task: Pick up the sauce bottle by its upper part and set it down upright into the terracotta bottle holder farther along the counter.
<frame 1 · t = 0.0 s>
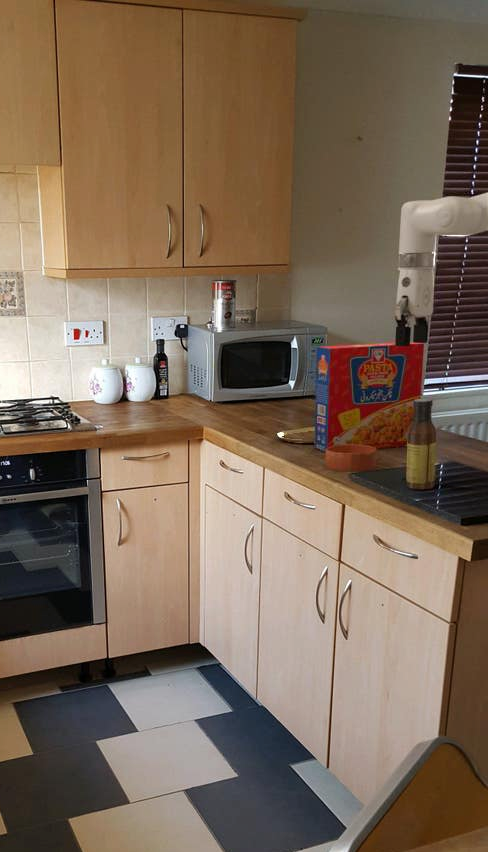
hand: (411, 344, 194), 31 cm above the countertop, tool pointing down, fingers open, 9 cm apart
serving platter: (329, 437, 265), on the countertop
pasta box: (365, 447, 247), on the countertop
sauce bottle: (419, 488, 198), on the countertop
bottle holder: (350, 466, 223), on the countertop
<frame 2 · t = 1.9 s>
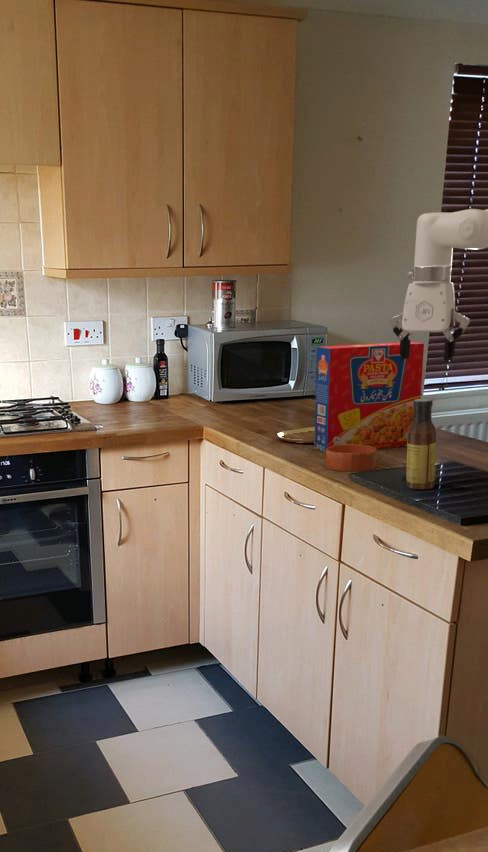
hand: (426, 359, 190), 28 cm above the countertop, tool pointing down, fingers open, 9 cm apart
nothing on the countertop moved.
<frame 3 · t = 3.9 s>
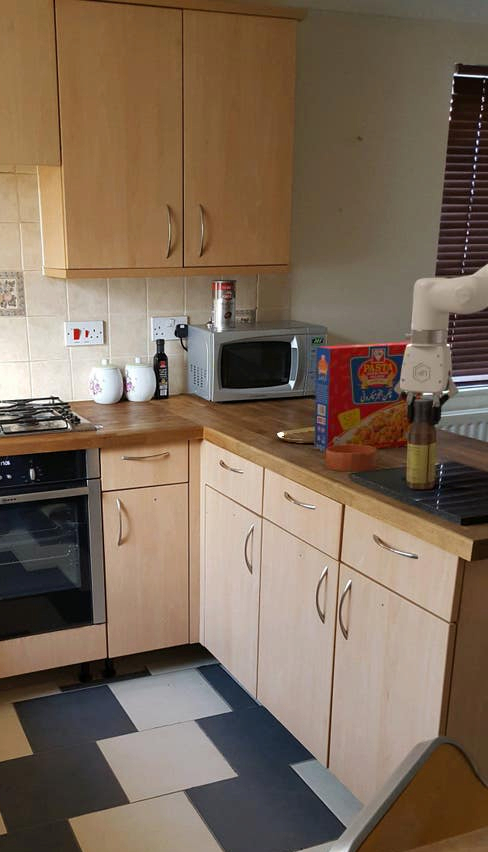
hand: (423, 422, 194), 15 cm above the countertop, tool pointing down, fingers closed on sauce bottle, 4 cm apart
sauce bottle: (419, 488, 198), on the countertop, touching gripper
everything else where it was.
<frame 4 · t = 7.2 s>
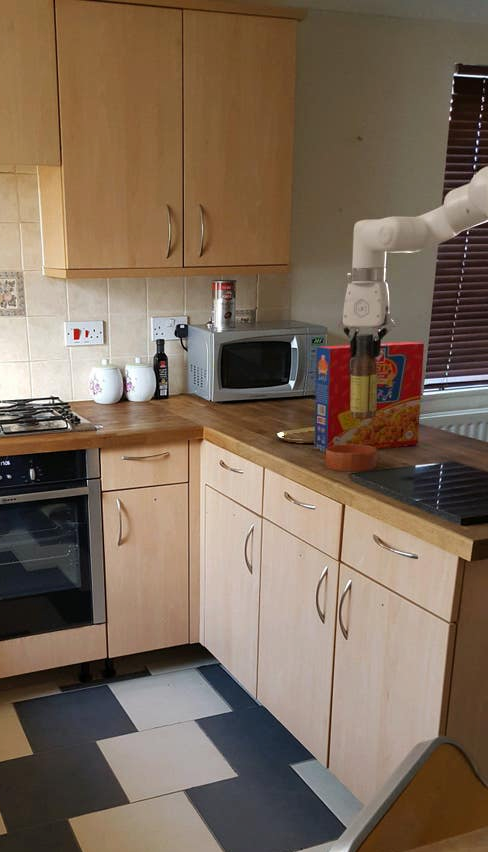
hand: (364, 356, 210), 28 cm above the countertop, tool pointing down, fingers closed on sauce bottle, 4 cm apart
sauce bottle: (362, 418, 215), point 13 cm above the countertop, touching gripper
everything else where it was.
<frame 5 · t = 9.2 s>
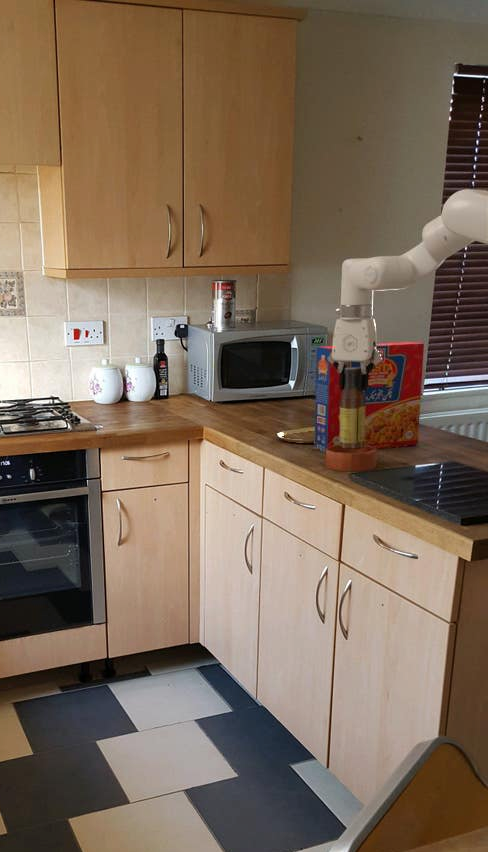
hand: (353, 388, 217), 19 cm above the countertop, tool pointing down, fingers closed on sauce bottle, 4 cm apart
sauce bottle: (351, 448, 221), point 5 cm above the countertop, touching gripper
everything else where it was.
when the fingers open (15 cm above the countertop, at t = 10.6 s): sauce bottle stays where it is, resting on bottle holder.
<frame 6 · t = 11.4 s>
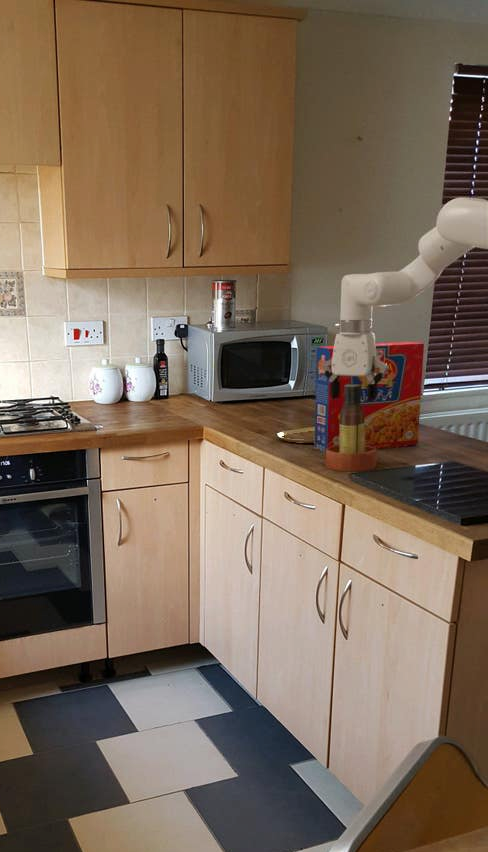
hand: (353, 399, 217), 17 cm above the countertop, tool pointing down, fingers open, 9 cm apart
sauce bottle: (351, 464, 222), resting on bottle holder
everything else where it was.
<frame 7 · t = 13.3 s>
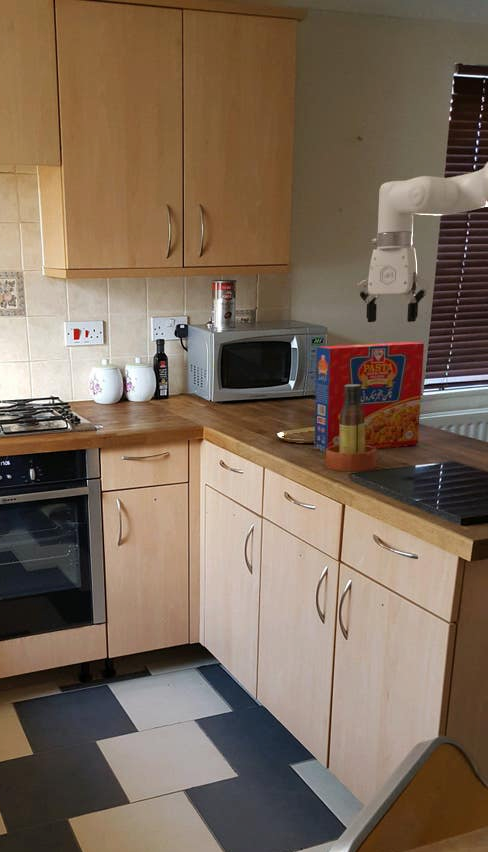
hand: (391, 321, 200), 36 cm above the countertop, tool pointing down, fingers open, 9 cm apart
nothing on the countertop moved.
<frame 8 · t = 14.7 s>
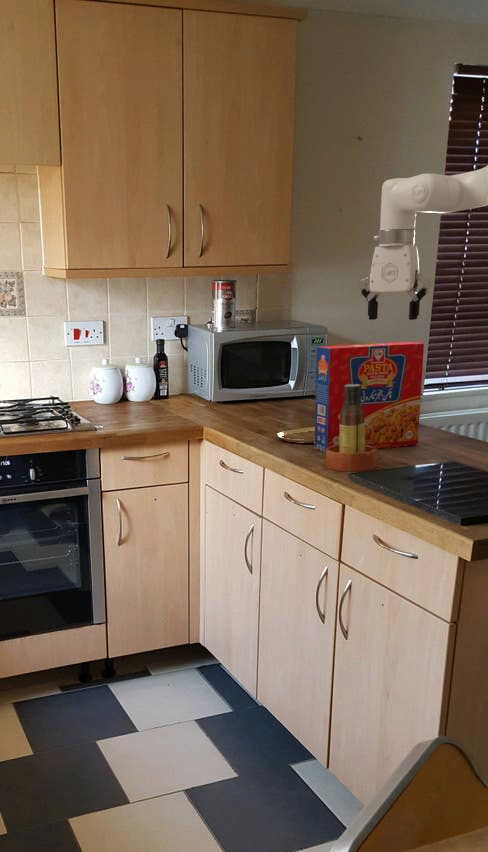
hand: (392, 319, 200), 36 cm above the countertop, tool pointing down, fingers open, 9 cm apart
nothing on the countertop moved.
at the end: sauce bottle 0.2 cm off-centre in the bottle holder, point 0.4 cm above the bottle holder's base; sauce bottle tilted 0°; the gripper is holding nothing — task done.
